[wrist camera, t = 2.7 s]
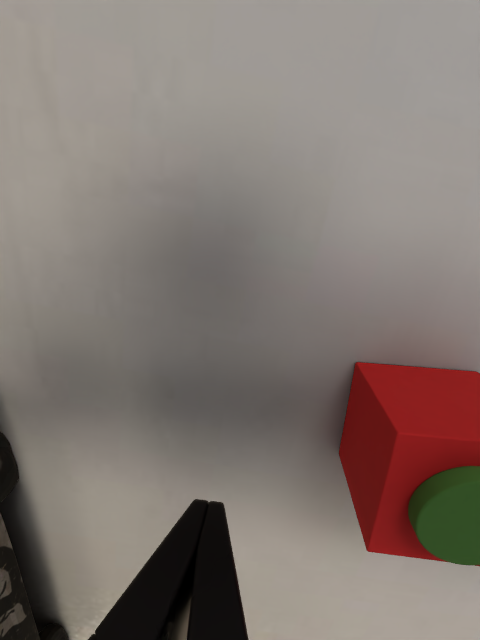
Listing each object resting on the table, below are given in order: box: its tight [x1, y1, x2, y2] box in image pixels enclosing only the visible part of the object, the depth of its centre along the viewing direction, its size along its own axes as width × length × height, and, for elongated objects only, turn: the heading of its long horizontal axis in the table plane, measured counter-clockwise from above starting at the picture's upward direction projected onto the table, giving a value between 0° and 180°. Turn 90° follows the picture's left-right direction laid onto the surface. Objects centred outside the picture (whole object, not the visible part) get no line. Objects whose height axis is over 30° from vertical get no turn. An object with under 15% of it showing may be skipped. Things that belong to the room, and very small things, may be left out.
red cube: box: [339, 362, 480, 566], centre depth 11 cm, size 5×5×5 cm
